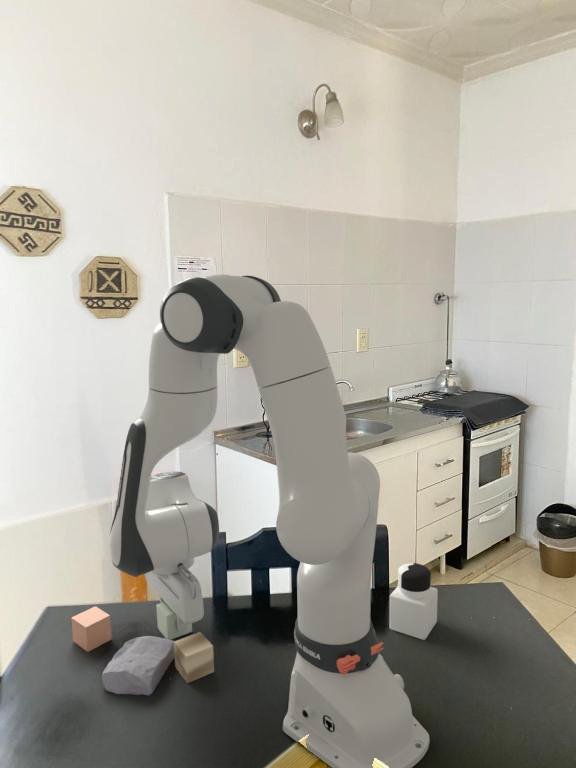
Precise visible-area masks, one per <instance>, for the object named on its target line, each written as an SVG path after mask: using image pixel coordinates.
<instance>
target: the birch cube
mask: <svg viewBox="0 0 576 768" xmlns="http://www.w3.org/2000/svg"><path fill="white" fill-rule="evenodd" d="M174 641H175V642H174V654H175V657H174V667H176V668H175V669H176V670H177V672H178V671H179V672H178V673H179V674H180V675H181V678H182V679H183V680H184V681H185V682H186V683H187V684H189V683H191V682H194V681H196V680H199V679H200V678H203V677H205V676H208V675H210V674H212V673H214V672H215V662H214V661H215V660H214V659H215V658H214V645H213V644H212V643H211V642H210V641H209V640H208V638H207V637H205V635H204V634H203V633H202V632H201V631H198V632H195V633H193V634H190V635H188V636H185V637H183V638H180V639H177V640H174Z"/></svg>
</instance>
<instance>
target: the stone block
mask: <svg viewBox="0 0 576 768" xmlns="http://www.w3.org/2000/svg"><path fill="white" fill-rule="evenodd" d="M175 641H176V640H173V639H171V640H170V639H166V638H165V637H160V636H153V635H143V636H140V637H139V636H138V637H137V636H136V637H135V638H132V639H129V640H128V641H126V642H124V644H123V646H122V647H120V648H119V649H118V651H116V652H115V654H114V655H113V657H112V659H111V660H110V661H109V662H108V663H107V666H106V667H105V668H104V670H103V672H102V674H101V680H102V681H101V682H102V684H103V685H102V686H103V687H104V689H105V691H106V692H110V693H113V694H117V695H135V696H141V695H142V696H151V695H152V694H153V693H154V692H155V690H156V688H157V687H158V684H159V683H160V681H161V680H162V678H163V677H162V676H164V674H165V673H166V672H167V670H168V668H169V666H171V664H170V663H172V661H173V660H175V654H174V642H175ZM165 671H166V672H165ZM156 686H157V687H156Z"/></svg>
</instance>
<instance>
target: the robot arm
mask: <svg viewBox="0 0 576 768" xmlns="http://www.w3.org/2000/svg"><path fill="white" fill-rule="evenodd" d="M159 320H160V323H159V324H158V325H157V326H156V327H155V329H154V331H153V334H152V339H151V345H150V351H149V359H148V361H149V362H148V363H149V364H148V394H147V400H146V403H145V406H144V408H143V411H142V413H141V415H140V416H139V417H138V418H137V419H136V420H135V421H134V422H132V423H131V424H130V426H129V429H128V431H127V436H126V439H125V445H124V450H123V456H122V463H121V470H120V476H119V484H118V492H117V499H116V504H115V505H116V506H115V512H114V515H113V516H114V517H113V520H112V523H111V527H110V533H109V540H108V550H109V555H110V559H111V562H112V565H113V566H114V567H115V568H116V569H117V570H118V571H120V572H122V573H124V574H126V575H128V576H131V577H133V578H137V577H140V576H143V575H144V578H145V579H146V582H147V583H148V585H149V586H150V587H151V588H152V589H153V591H154V592H156V594H157V595H158V598H159V601H160V602H159V603H162V602H166V603H167V605H168V606H169V607H170V608H171V609H172V610H173V611H174V612H175V613H176V616H177V617H178V618H177V621H175V625H176V626H175V628H176V629H177V631H178V632H179V633H181V632H184V631H186V630H187V624H191V623H192V624H194V623H196V622H198V621H200V620H202V619H203V617H204V616H205V615H204V614H205V610H204V609H205V607H204V599H203V592H202V587H201V582H200V581H199V579H198V577H197V576H195V574H193V572H192V571H191V570H189V569H190V568H191V567H193V566H194V564H195V560H196V559H195V558H197V557H201V556H203V555H206V554H208V553H211V552H212V551H213V550H214V548H215V546H216V544H217V542H218V539H219V537H220V523H219V522H220V521H219V517H218V512H217V511H216V509H215V508H214V507H212V506H211V505H210V504H209V503H207V502H205V501H203V500H201V499H199V498H198V497H197V496H196V494H194V492H193V490H192V488H191V484H190V479H189V477H188V475H187V473H186V472H182V471H165V472H161V473H157V474H154V475H152V473H153V471H154V468H155V467H156V465H157V464H158V463H159V462H160V461H161V460H162V459H164V457H166V456H167V455H168V454H169V453H171V452H173V451H174V450H175V449H178V448H179V447H181V446H182V445H185V444H187V443H188V442H190V441H193V440H194V439H196V438H197V437H199V436H200V435H201V434H203V432H205V430H207V428H208V427H209V426H210V425H211V423H213V420H214V418H215V416H216V412H217V407H218V361H219V357H220V355H221V354H222V355H224V354H225V355H226V354H227V355H228V354H230V353H231V352H232V351H233V350H236V351H238V352H241V353H242V354H243V355H244V356H245V357H246V358H247V360H248V362H249V364H250V367H251V368H252V372H253V376H254V379H255V381H256V386H257V388H258V392H259V395H260V397H261V398H260V399H261V402H262V406H263V408H264V412H265V415H266V418H267V422H268V425H269V427H270V432H271V436H272V441H273V445H274V452H275V454H274V455H275V462H276V463H275V464H276V471H277V472H276V473H277V484H278V485H277V486H278V499H279V501H278V511H277V515H276V524H275V528H276V534H277V537H278V540H279V543H280V545H281V546H282V548H283V549H284V551H286V553H287V554H289V555H290V557H292V558H293V559H295V560H297V561H298V562H299V566H298V570H297V573H296V574H297V575H296V589H297V591H296V593H297V594H296V595H297V596H296V597H297V601H296V602H297V618H295V619H296V620H295V623H294V631H293V636H294V637H293V638H294V645H295V646H294V647H295V650H296V656H295V659H294V663H293V667H292V671H291V675H290V683H289V693H288V695H289V696H288V707H287V712H286V715H285V716H284V717H283V718H284V719H283V721H282V731H283V732H284V733H285V735H287V736H289V737H290V738H291V739H293V740H294V741H295V742H297V741H299V740H300V739H302V738H303V737H305V736H306V735H308V734H309V736H308V738H307V739H306V741H305V742H306V746H307V749H306V750H307V751H309V752H311V753H312V754H313V755H314V756H316V757H317V758H319V759H320V760H321V761H323V762H324V763H325V764H326V765H328V766H329V767H331V768H373V766H372V764H373V761H374V758H377V759H378V760H380V761H382V762H384V763H385V764H386V765H388V766H389V768H413V767H414V766H416V764H418V763H419V762H420V761H421V760H422V759H423V758H424V756H425V755H426V753H427V752H428V750H429V747H430V743H431V739H430V734H429V733H428V731H427V730H426V729H425V728H424V727H423V725H421V723H420V722H419V720H417V719H416V718H415V715H413V712H412V705H411V702H410V699H409V697H408V695H407V694H406V692H405V690H404V689H405V683H404V678H403V677H402V676H401V675H400V674H398V673H395V674H393V672H392V670H391V668H389V666H388V664H387V663H386V661H385V660H384V656H382V655H381V654H380V652H381V651H382V650H384V647H382V646H383V645H384V642H383V641H380V642H379V643H378V639H377V636H376V631H375V628H374V625H373V622H372V619H371V595H372V593H371V589H372V588H371V586H372V585H371V583H372V582H371V581H372V568H373V560H374V553H375V544H376V534H377V527H378V526H377V524H378V515H379V514H378V513H379V511H378V510H379V499H380V492H381V491H380V488H381V479H380V474H379V472H378V469H377V468H376V466H375V465H374V463H373V462H372V461H371V460H370V459H368V458H367V457H365V456H364V455H363V454H360V453H356V452H350V451H349V450H348V443H347V442H348V441H347V416H346V415H347V414H346V412H345V409H344V405H343V402H342V399H341V395H340V391H339V389H338V385H337V383H336V379H335V376H334V372H333V369H332V366H331V363H330V359H329V355H328V354H327V353H328V352H327V351H326V349H325V346H324V343H323V340H322V339H321V336H320V334H319V332H318V329H317V328H316V325H315V323H314V320H312V318H311V316H310V314H309V312H308V311H307V309H306V308H305V307H304V306H302V305H301V304H299V303H297V302H294V301H287V300H286V301H285V300H282V301H281V297H280V295H279V292H278V291H277V289H276V288H274V286H273V285H272V284H271V283H269V282H268V281H266V280H264V279H263V278H260V277H257V276H254V275H242V276H240V275H229V274H223V273H222V274H213V275H207V276H203V277H196V276H195V277H190V278H187V279H185V280H184V279H183V280H182V281H180V282H178V283H176V284H174V285H173V286H172V287H170V288H168V290H167V291H166V293H165V294H164V296H163V298H162V301H161V303H160V307H159ZM348 451H349V452H348Z"/></svg>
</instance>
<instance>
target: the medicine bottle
mask: <svg viewBox="0 0 576 768" xmlns="http://www.w3.org/2000/svg"><path fill="white" fill-rule="evenodd" d="M431 576H432V572H431V571H430V569H429V568H428V567H427V566H425V565H423V564H421V563H418V562H417V563H416V562H411V563H409V562H408V563H404V564H401V566H399V568H398V570H397V586H396V588H394V590H393V591H392V592H391V594H390V595H389V629H390V630H392V631H395V632H397V633H402V634H403V635H407V636H410V637H413V638H416V639H419V640H422V641H425V640H426V639H427V638H428V636H429V635H430V633H431V631H433V628H434V627H435V626H436V624H437V622H438V595H439V593H438V588H436V587H432V586H431V578H432V577H431Z"/></svg>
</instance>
